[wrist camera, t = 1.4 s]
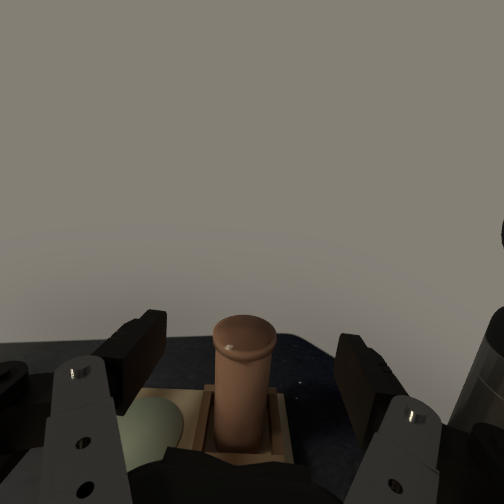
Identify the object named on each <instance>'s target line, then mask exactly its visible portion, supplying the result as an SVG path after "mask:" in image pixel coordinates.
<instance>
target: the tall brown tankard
mask: <svg viewBox="0 0 504 504" xmlns="http://www.w3.org/2000/svg"><path fill="white" fill-rule="evenodd" d="M276 338H277V334H276V331H275V329H274V327H273V326H272V325H271V324H270V323H269V322H267V321H266V320H264V319H261V318H259V317H256V316H251V315H235V316H231V317H227V318H225V319H223V320H221V321H220V322H219V323H217V325H216V326H215V328H214V331H213V344H214V347H215V349H216V360H215V402H214V444H215V447H216V449H217V451H218V452H219V453H238V454H257V452H258V451H259V449H260V447H261V444H262V439H263V430H264V421H265V411H266V402H267V393H268V384H269V374H270V365H271V356H272V352H273V350H274V349H275V346H276Z"/></svg>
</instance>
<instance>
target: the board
mask: <svg viewBox="0 0 504 504" xmlns="http://www.w3.org/2000/svg"><path fill="white" fill-rule="evenodd" d="M214 402H215V385H205V386H204V390H182V389H158V388H141V390H140V392H139V393H138V395H137V396H136V398H135V399H134V401H133V403H132V404H131V406H130V407H129V409H128V410H127V412H126V414H125V415H124V416H117V415H116V416H117V421H118V427H119V432H120V438H121V443H122V448H123V454H124V459H125V464H126V470H127V472H129V471H130V470H132V469H134V468H136V467H138V466H141V465H144V464H146V463H150V462H153V461H157V460H162V459H163V456H164V454H165V451H166V449H167V446H168V447H175V448H182V449H190V450H197V451H202V452H205V453H207V454H209V455H212V456H214V457H216V458H219V459H221V460H223V461H225V462H228V463H230V464H232V465H236V466H241V465H248V464H255V463H263V462H270V461H277V462H284V463H291V464H294V460H293V453H292V447H291V440H290V433H289V427H288V420H287V413H286V407H285V400H284V394H277V390H276V387H268V393H267V402H266V411H265V421H264V430H263V439H262V444H261V447H260V449H259V451H258V452H257V454H238V453H219V452H218V451H217V449H216V447H215V444H214Z"/></svg>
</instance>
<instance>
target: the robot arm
mask: <svg viewBox="0 0 504 504" xmlns="http://www.w3.org/2000/svg"><path fill="white" fill-rule="evenodd" d="M501 236H502V244H503V247H504V221H503V225H502V233H501ZM166 329H167V313H166V311H160V310H151V309H149V310H147V311H146V312H145V313H144V314H143V316H141V318H140V319H133V320H131V321H129V322H127V323H125V324H124V325H123V326H121V327H120V328H119V329H118V330H117V332H115V333H114V334H113V335H112V336H111V338H108V339H107V340H106V341H105V342H104V343H103V344H102V345H101V346H100V347H99V348H98V349H97V350H96V351H95V352H93V353H92V354H91V355H87V356H81V357H77V358H74V359H71V360H69V361H67V362H65V363H63V364H62V365H61V366H59V367H58V368H57V370H56V371H55V372H53V373H43V374H33V375H29V373H28V366H27V364H26V363H24V362H20V361H8V362H2V363H0V484H1V482H2V481H3V480H4V479H5V478H6V477H7V475H8V474H9V473H10V472H11V471H12V470H13V468H14V467H15V466H16V465H17V464H18V462H19V461H20V460H21V459H22V458H23V457H24V455H25V454H26V453H27V452H28V451H29V450H30V448H36V447H42V446H44V449H43V459H42V469H41V480H40V490H39V500H38V504H436V502H437V503H440V504H504V307H501V308H500V309H498V310H497V311H496V312H495V313H494V315H493V316H492V318H491V320H490V323H489V325H488V328H487V330H486V333H485V335H484V338H483V340H482V343H481V345H480V347H479V350H478V352H477V355H476V357H475V360H474V363H473V365H472V367H471V370H470V372H469V374H468V377H467V379H466V382H465V384H464V386H463V389H462V391H461V393H460V396H459V398H458V401H457V403H456V405H455V408H454V410H453V412H452V415H451V417H450V420H449V422H448V424H447V425H445V424H442V422H441V420H440V418H439V416H438V415H437V414H436V413H435V412H434V411H433V410H432V409H431V408H430V407H429V406H427V405H426V404H424V403H423V402H421V401H419V400H417V399H415V398H412V397H410V396H409V395H408V394H407V392H406V391H405V389H404V388H403V386H402V385H401V384H400V382H399V381H398V379H397V378H396V376H395V375H394V374H393V373H392V371H391V369H390V368H389V366H387V363H386V362H385V361H384V359H383V358H382V356H381V355H379V354H378V353H377V352H376V351H374V350H373V349H372V348H367V346H366V345H365V343H364V341H363V340H362V338H361V337H360V336H359V335H353V334H344V333H342V334H341V335H340V337H339V342H338V347H337V352H336V356H335V361H334V377H335V380H336V383H337V385H338V388H339V391H340V394H341V396H342V399H343V402H344V405H345V407H346V410H347V413H348V416H349V418H350V421H351V424H352V426H353V429H354V432H355V435H356V437H357V440H358V443H359V446H360V448H361V450H367V451H366V454H365V456H364V458H363V460H362V463H361V465H360V467H359V470H358V472H357V474H356V476H355V479H354V481H353V483H352V485H351V488H350V490H349V492H348V495H347V497H346V499H345V501H344V503H343V502H342V501H341V500H340V499H338V498H337V497H336V496H335V495H334V494H333V493H331V492H330V491H328V490H327V489H326V488H324V487H322V486H321V485H319V484H317V483H315V482H313V481H311V479H310V473H309V466H306V465H299V464H291V463H284V462H277V461H270V462H263V463H255V464H248V465H241V466H236V465H232V464H230V463H228V462H225V461H223V460H221V459H219V458H216V457H214V456H212V455H209V454H207V453H205V452H202V451H197V450H190V449H182V448H175V447H168V446H167V449H166V451H165V454H164V456H163V459H162V460H157V461H153V462H150V463H146V464H144V465H141V466H138V467H136V468H134V469H132V470H130V471H129V472H127V470H126V464H125V459H124V454H123V448H122V443H121V438H120V432H119V427H118V421H117V416H124V415H125V414H126V412H127V410H128V409H129V407H130V406H131V404H132V403H133V401H134V399H135V398H136V396H137V395H138V393H139V392H140V390H141V388H142V387H143V385H144V384H145V382H146V380H147V379H148V377H149V376H150V374H151V373H152V371H153V369H154V368H155V366H156V365H157V363H158V362H159V360H160V358H161V357H162V355H163V353H164V350H165V346H166ZM116 415H117V416H116Z"/></svg>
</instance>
